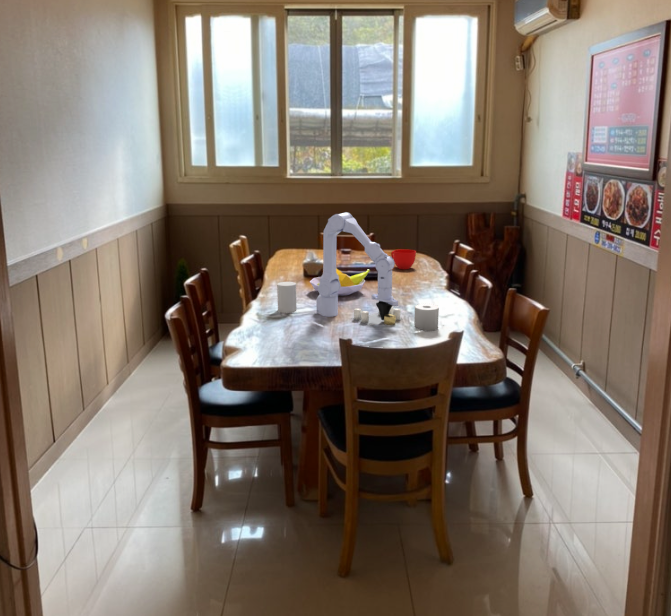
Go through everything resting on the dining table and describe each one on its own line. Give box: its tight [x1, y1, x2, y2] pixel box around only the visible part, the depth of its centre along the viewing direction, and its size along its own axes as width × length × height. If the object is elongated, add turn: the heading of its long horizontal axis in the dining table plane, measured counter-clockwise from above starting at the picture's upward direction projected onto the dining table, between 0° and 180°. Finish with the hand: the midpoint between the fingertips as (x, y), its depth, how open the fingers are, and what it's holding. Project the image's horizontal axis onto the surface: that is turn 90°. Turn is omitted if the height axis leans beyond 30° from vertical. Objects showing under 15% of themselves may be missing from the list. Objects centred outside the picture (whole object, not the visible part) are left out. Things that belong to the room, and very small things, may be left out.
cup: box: [276, 281, 298, 314], centre depth 280 cm, size 8×8×12 cm
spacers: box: [353, 306, 401, 324], centre depth 265 cm, size 12×16×4 cm
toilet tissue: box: [413, 303, 440, 332], centre depth 257 cm, size 9×13×9 cm
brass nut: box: [383, 314, 397, 326], centre depth 259 cm, size 5×5×3 cm
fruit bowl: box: [309, 267, 371, 297], centre depth 312 cm, size 28×27×11 cm
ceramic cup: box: [390, 248, 417, 270], centre depth 372 cm, size 13×17×10 cm
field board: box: [350, 312, 402, 327], centre depth 266 cm, size 13×17×1 cm
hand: (384, 319), depth 262 cm, fingers closed
